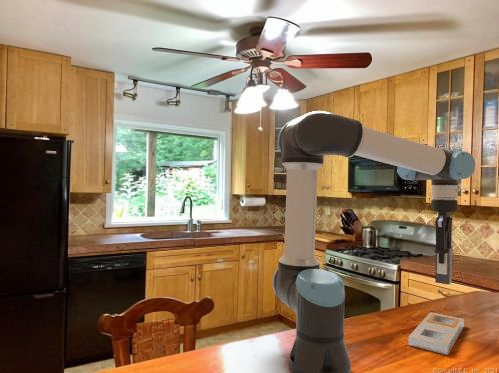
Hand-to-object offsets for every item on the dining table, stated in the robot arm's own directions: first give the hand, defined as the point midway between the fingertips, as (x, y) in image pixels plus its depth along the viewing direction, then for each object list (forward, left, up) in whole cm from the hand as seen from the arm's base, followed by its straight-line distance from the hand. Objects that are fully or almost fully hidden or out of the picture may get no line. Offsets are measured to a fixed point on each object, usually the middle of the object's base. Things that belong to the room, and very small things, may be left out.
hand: (443, 272), depth 119 cm
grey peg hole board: (0, -7, -18) cm, 19 cm away
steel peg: (0, 0, -3) cm, 3 cm away
